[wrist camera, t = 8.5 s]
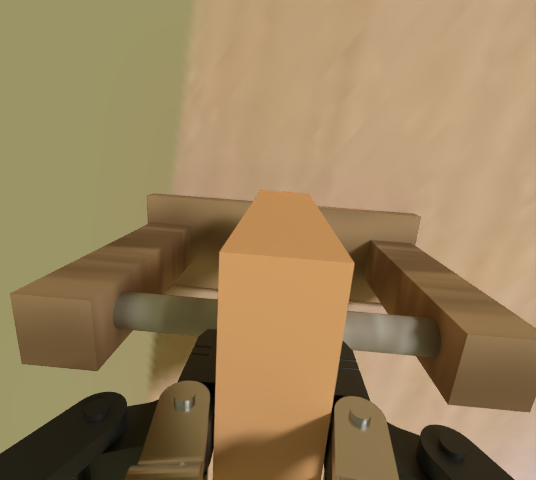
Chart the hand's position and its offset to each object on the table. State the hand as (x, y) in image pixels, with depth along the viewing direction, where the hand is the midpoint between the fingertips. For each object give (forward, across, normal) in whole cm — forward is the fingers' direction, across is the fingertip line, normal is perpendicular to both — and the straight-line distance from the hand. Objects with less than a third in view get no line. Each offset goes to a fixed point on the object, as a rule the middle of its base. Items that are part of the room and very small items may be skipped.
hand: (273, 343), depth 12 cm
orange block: (+8, 0, 0) cm, 8 cm away
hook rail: (+13, 0, 0) cm, 13 cm away
